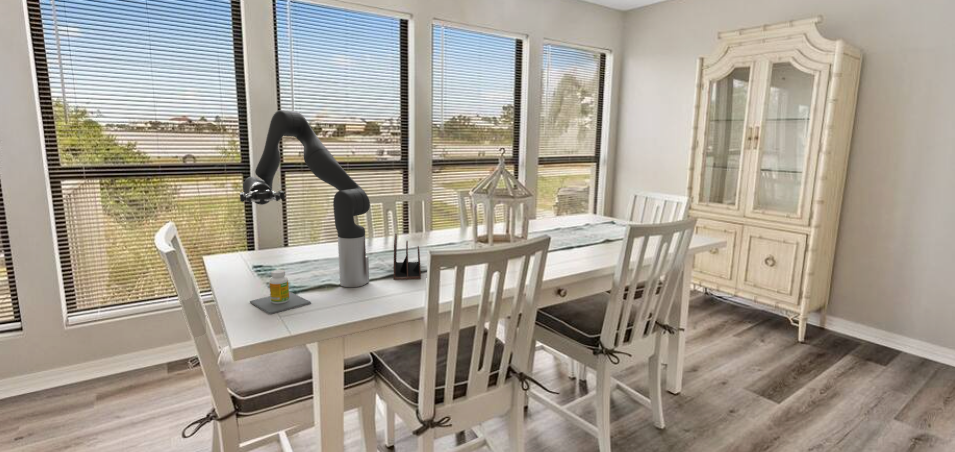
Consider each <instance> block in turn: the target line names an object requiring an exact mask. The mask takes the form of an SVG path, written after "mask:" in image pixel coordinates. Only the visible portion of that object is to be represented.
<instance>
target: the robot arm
mask: <svg viewBox="0 0 955 452" xmlns="http://www.w3.org/2000/svg"><path fill="white" fill-rule="evenodd" d="M283 137H294V138H296V139H297V140H298V142H300V143H301V145H302V147H303V160H304V164H305V165H306V166H307V167H308V169H309V170H310V171H311V173H312V174H313V175H314V176H315V177H316V178H318V179H319V180H321V181H322V182H324V183H326V184H328V185H330V186H331V187H333V188H335V189H336V190H337V192H336V193H335V195H334V196H333V203H332V204H333V215H334V226H335V229H336V232H337V233H336V234H337V249H338V251H337V252H338V268H339V269H338V271H339V273H338V274H339V285H340V286H341V287H345V288H356V287H357V288H358V287H362V286H365V285H366V284H369V283H370V264H369V256H368V255H367V253H366V252H367V250H366V249H367V248H366V247H367V245H366V227H364V226H362V225H359V224H356V223H355V219H354V218H355V217H357V216H361V215H365V214H367V213H368V212H369V211H370V207H371V202H370V199H369V196H368V194H367V192H365V190H364V189H363V188H362V187H361V186H360V185H359V184H358V183H357V182H356V181H355V180H354V179H353V178H352V177H351V176H350V175H349V174H348V172H346V170H345V169H344V168H343V167H342V166H341V165H340V164H339V162H338V161H337V160H336V158H335V157H334V155H333V154H332V153H331V152H330V151H329V149H328V148H327V147H326V146H325V145H324V144H323V142H322V141H321V140H320V137H318V136H317V134H316V133H315V131H314V130H313V128H312V127H311V125H310V124H309V122H308V120H307V119H306V117H305V116H304V115H303V114H302V113H301V112H298V111H293V110H286V109H284V110H283V109H279V110H277V111H275V112H274V113H273V115H272V117H271V120H270V122H269V127H268V131H267V135H266V139H265V145H264V147H263V151H262V155H261V157H260V159H259V161H258V163H257V166H256V167H255V170H254V172H255V175H256V176H257V177H258V178H257V177H255V176H248V177H247V178H246V179H245V180H244V182H243V184H242V189H243V190H242V191H241V192H240V193H239V200H240V202H241V203H243V202H245V201H246V202H248V203H254V204H256V205H259V206H260V205H261V206H262V205H266V204H268V203H269V202H274V201H275V202H279V201H280V200H282V201H283V200H286V197H285V192H284V191H283V190H278V191H277V192H276V191H275V190H273V182H274V177H275V175H276V173H277V171H278V169H279V167H280V163H281V155H280V149H279V143H280V142H281V140H282V138H283ZM243 191H244V192H243Z"/></svg>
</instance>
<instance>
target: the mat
mask: <svg viewBox="0 0 955 452" xmlns="http://www.w3.org/2000/svg"><path fill="white" fill-rule="evenodd" d="M249 303H250V304H252V305H253V306H255V307H257V308H258V309H260V310H262V311H263V312H265V313H267V314H268V315H273V314H276V313H280V312H281V313H282V312H285V311H288V310H292V309H295V308H299V307H302V306H303V307H304V306H306V305H307V306H308V305H310V304H312V302H311V301H310V300H308V299H306V298H303V297H302V296H300V295H298V294H295V293H293V292H292V291H290V290H289V301H288V302H286V303H281V304H274V303H272V302H271V296H270V295H269V296H265V297H260V298H257V299H252V300H249Z"/></svg>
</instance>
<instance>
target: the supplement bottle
mask: <svg viewBox="0 0 955 452" xmlns="http://www.w3.org/2000/svg"><path fill="white" fill-rule="evenodd" d="M270 276H271V277H270V278H269V293H270V295H269V296H271V302H272V303H274V304H281V303H286V302H288V301H289V291H290V289H289V277H287V276H286V270H284V269H274V270H272V271H270Z"/></svg>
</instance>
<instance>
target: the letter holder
mask: <svg viewBox="0 0 955 452" xmlns="http://www.w3.org/2000/svg"><path fill="white" fill-rule="evenodd" d="M397 237H398V233H395V234H394V240H393V241H394V242H393V277H392V278H393V280H397V281H399V280H401V281H402V280H421V279H422V275H421V274H422V271H421V268H422V267H421V253H420V246H419V245H418V246H417V261H413V262H412V261H409V241H408V240H406V242H405V245H406V246H405V253H406V255H405V257H404V260H403V261H402V262H401V261H399V262H397V253H398V252H397V250H398V249H397V247H398V246H397V244H398V241H397V239H398V238H397Z"/></svg>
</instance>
